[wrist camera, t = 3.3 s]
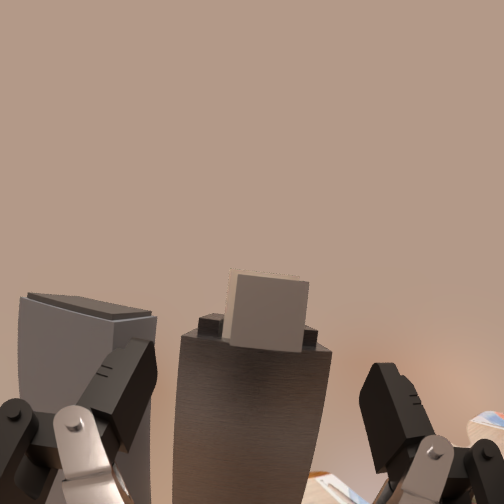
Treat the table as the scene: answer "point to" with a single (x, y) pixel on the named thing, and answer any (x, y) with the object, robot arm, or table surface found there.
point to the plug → (265, 310)
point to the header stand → (245, 418)
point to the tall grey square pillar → (80, 367)
